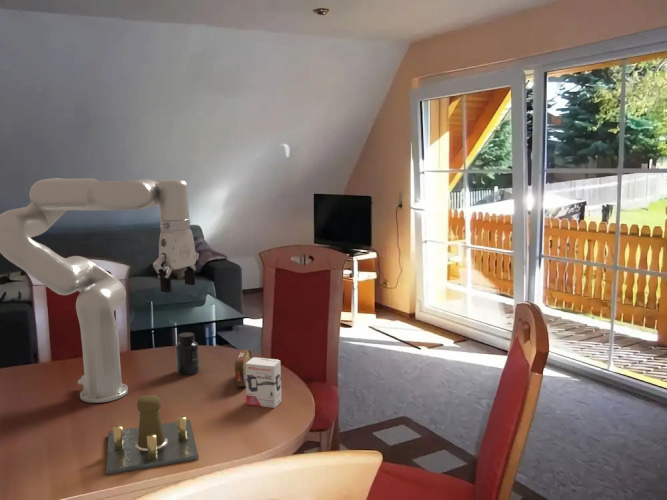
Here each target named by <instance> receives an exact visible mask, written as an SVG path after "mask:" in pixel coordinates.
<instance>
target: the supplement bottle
mask: <svg viewBox="0 0 667 500" xmlns="http://www.w3.org/2000/svg"><path fill="white" fill-rule="evenodd" d="M177 337H178V343H177V344H176V345H175V361H176V363H175V364H176V373H177V374H178V375H179V376H182V375H183V377H184V376H193V375H196V374H199V372H200V353H199V352H200V351H199V350H200V349H199V344H198V342H196V341H195V340H196V337H195V333H193V332H182V333H179V334H178V336H177Z"/></svg>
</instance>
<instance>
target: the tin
mask: <svg viewBox="0 0 667 500" xmlns="http://www.w3.org/2000/svg"><path fill="white" fill-rule="evenodd" d="M252 358H253V356H252V353H251V350H250V349H244V350H240V351H239V353H238V355H237V357H236V358H235V359H236V360H235V363H234V373H235V382H236V386H237V387H240V388H241V387H246V363H247V362H248V361H249V360H250V359H252Z"/></svg>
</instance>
